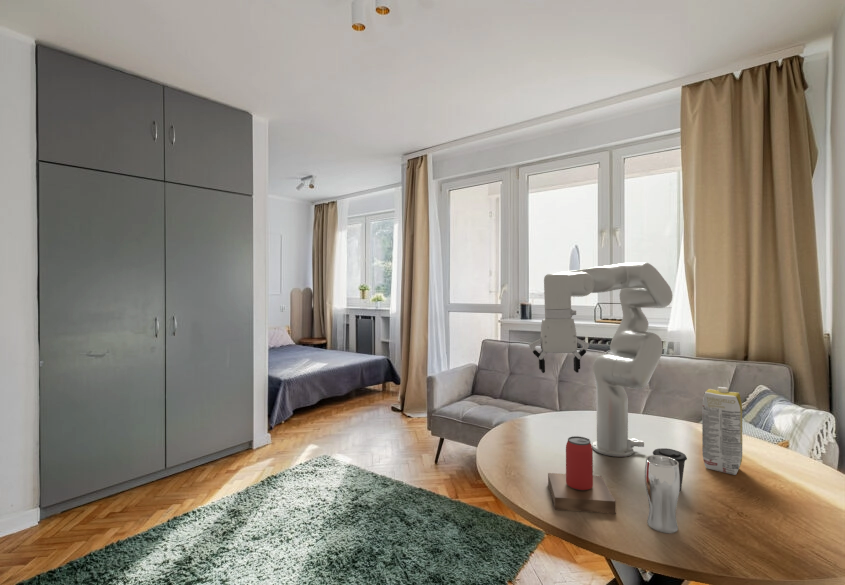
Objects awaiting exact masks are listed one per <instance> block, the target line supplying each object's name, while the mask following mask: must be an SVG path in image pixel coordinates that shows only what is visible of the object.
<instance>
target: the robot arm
mask: <svg viewBox="0 0 845 585" xmlns="http://www.w3.org/2000/svg"><path fill="white" fill-rule="evenodd" d="M616 290H618V291H619V290H620V291H619V302H620V305H621V311H622V319H621V321H620V323H619V326H618V327H617V329H616V331H615V333H614V334H613V337H612V339H611V342H610V345H609V348H610V349H609V350H610V351H611V353H612V354H602V355H599V356H597V357H596V358H595V360H594V361H593V364H592V371H593V377H594V382H595V390H596V440H594V441H593V442H592V443H591V446H592V449H593V450H594V452H596V453H599V454H601V455H603V456H604V455H605V456H609V457H616V458H617V457H618V458H621V457H629V456H631V455H633V454H634V448H635V447H638V448H644V447H645V443H644V440H638V439H637V438H630V437H629V409H628V408H629V406H628V405H629V400H628V395H627V392H626V390H625V388H629V389H635V390H640V389H641V390H642V389H643V388H645V387H647V385H648V384H649V383H650V381H651V378H652V376H653V375H654V373H655V370H656V368H657V366H658V365H659V361H660V359H661V357H662V354H663V341H662V339H661V337H660V336H659V334H656V333H654V332H651V331H647V330H648V329H649V320H648V318H647V316H646V315H645V313H644V312H643V310H642V308H647V309H663V308H667V307H668V306H669V305H671V303H672V301H673V291H672V289H671V287H670V285H669V283H668V282H667V280H665V278H664V277H663V275H662V274H661V273H660V272H659V271H658V269H657V268H656V267H655V266H653V265H652V264H651V263H649V262H645V261H643V262H642V261H641V262H623V263H617V264H616V263H615V264H610V265H609V264H608V265H603V266H594V267H593V266H592V267H588V268H583V269H574V270H568V271H560V272H559V271H558V272H554V273H547V274H546V275H544V277H543V291H544V293H543V294H544V296H543V297H544V298H543V299H544V318H542V320H541V326H540V338H538V339H537V340H535V341H533V342H531V343H529V345H528V347H529V349H530V350H531V352H532V353H533V355H535V357H536V358H538V369H539V370H540V371H541V373H542V374H545V373H546V363H545V362H546V360H545V359H544V357H546V355H547V354H572V355H573V356H574V357H573V371H574V372H575V373H576V374H577V373H579V372H580V371H579V370H581V359H582V357H584V356H585V355H586V353H587V351H588V349H589V347H590V343H588V342H587V341H584V340H582V339H579V338H578V337H577V336H578V335H577V329H576V325H575V324H576V323H575V319H574V318H573V316H576V315H577V310H574V309H572V297H574V298H575V297H577V298H579V297H581V298H582V297H586V296H589V295H590V294H598V293H606V292H607V293H608V292H612V291H616ZM578 344H579V345H582V348H581V349H580V350H579V351H577V350H578ZM539 345H540V349H541V350H540V351H538V350H537V349H536V347H537V346H539Z"/></svg>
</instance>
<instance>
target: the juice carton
mask: <svg viewBox="0 0 845 585" xmlns="http://www.w3.org/2000/svg"><path fill="white" fill-rule="evenodd" d="M728 390H729V388H728V387H725V386H723V387H722V386H717V389H712V388H708V389H707V390H705V392H704V394H703V399H702V402H701V403H702V412H701V413H702V414H701V415H702V419H701V420H702V423H701V426H702V427H701V429H702V431H701V432H702V434H701V435H702V436H701V438H702V440H701V442H702V444H701V445H702V446H701V447H702V459H703V464H704V466H705V468H706V469H708V470H712V471H717V472H720V473H725V474H729V475H733V476H736V475H737V473H738V472H739V469H740V467H741V465H742V462H743V403H742V397H741V394H740V392H735V391H728Z"/></svg>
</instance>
